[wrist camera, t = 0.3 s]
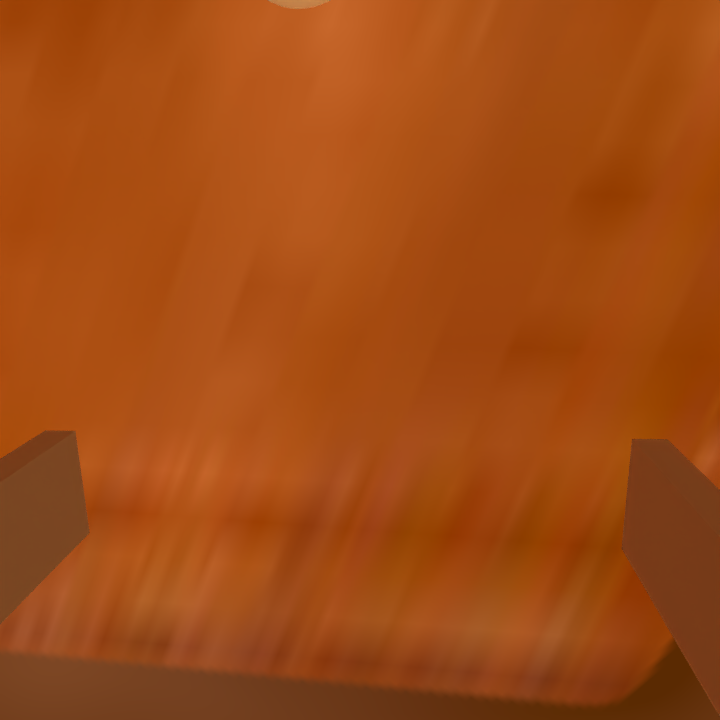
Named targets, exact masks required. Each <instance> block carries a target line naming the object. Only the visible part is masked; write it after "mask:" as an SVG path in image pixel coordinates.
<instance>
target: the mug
mask: <svg viewBox="0 0 720 720" xmlns="http://www.w3.org/2000/svg"><path fill="white" fill-rule="evenodd" d="M268 1H270V2H272V3H274V4H277V5H279V6H282V7H287V8H294V9H304V8H311V7H316V6H319V5H322V4H324V3H326V2H328V1H330V0H268Z"/></svg>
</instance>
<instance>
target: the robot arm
mask: <svg viewBox="0 0 720 720" xmlns="http://www.w3.org/2000/svg"><path fill="white" fill-rule="evenodd" d="M88 534H89V526H88V519H87V512H86V504H85V497H84V490H83V483H82V476H81V469H80V462H79V455H78V447H77V440H76V433H75V431H44V432H42V433H41V434H39V435H38V436H36V437H34V438H33V439H31V440H30V441H28V442H26V443H25V444H23V445H22V446H20V447H18V448H17V449H15V450H14V451H12V452H10V453H9V454H7V455H6V456H4V457H3V458H1V459H0V624H1V623H2V622H3V621H4V620H5V619H6V618H7V617H8V616H9V615H10V614H11V613H12V612H13V611H14V610H15V609H16V608H17V606H18V605H19V604H20V603H21V602H22V601H23V600H24V599H25V598H26V597H27V596H28V595H29V594H30V593H31V592H32V591H33V590H34V589H35V588H36V587H37V586H38V585H39V584H40V583H41V582H42V581H43V580H44V579H45V578H46V577H47V576H48V575H49V574H50V573H51V572H52V571H53V570H54V569H55V568H56V567H57V566H58V564H59V563H60V562H61V561H62V560H63V559H64V558H65V557H66V556H67V555H68V554H69V553H70V552H71V551H72V550H73V549H74V548H75V547H76V546H77V545H78V544H79V543H80V542H81V541H82V540H83V539H84V538H85V537H86V536H87V535H88ZM622 550H623V552H624V553H625V555H626V557H627V558H628V560H629V562H630V564H631V565H632V567H633V569H634V570H635V572H636V574H637V576H638V577H639V579H640V581H641V582H642V584H643V586H644V588H645V589H646V591H647V593H648V595H649V596H650V598H651V600H652V601H653V603H654V605H655V607H656V608H657V610H658V612H659V613H660V615H661V617H662V619H663V620H664V622H665V624H666V625H667V627H668V629H669V631H670V632H671V634H672V636H673V637H674V639H675V641H676V643H677V644H678V646H679V648H680V650H681V651H682V653H683V654H684V656H685V658H686V660H687V662H688V663H689V665H690V667H691V668H692V670H693V672H694V673H695V675H696V677H697V679H698V680H699V682H700V684H701V686H702V687H703V689H704V691H705V693H706V694H707V696H708V698H709V699H710V701H711V703H712V704H713V706H714V708H715V710H716V711H717V713H718V715H719V716H720V490H719V489H718V488H717V487H716V486H715V485H714V484H713V483H712V482H711V481H710V480H709V479H708V478H707V477H706V476H705V475H703V474H702V473H701V472H700V471H699V470H698V469H697V468H696V467H695V466H694V465H693V464H692V463H691V462H690V461H689V460H688V459H687V458H686V457H685V456H684V455H683V454H682V453H681V452H680V451H679V450H678V449H677V448H676V447H675V446H674V445H673V444H672V443H671V442H669V441H668V440H664V439H632V445H631V456H630V466H629V477H628V488H627V498H626V509H625V519H624V530H623V540H622Z"/></svg>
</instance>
